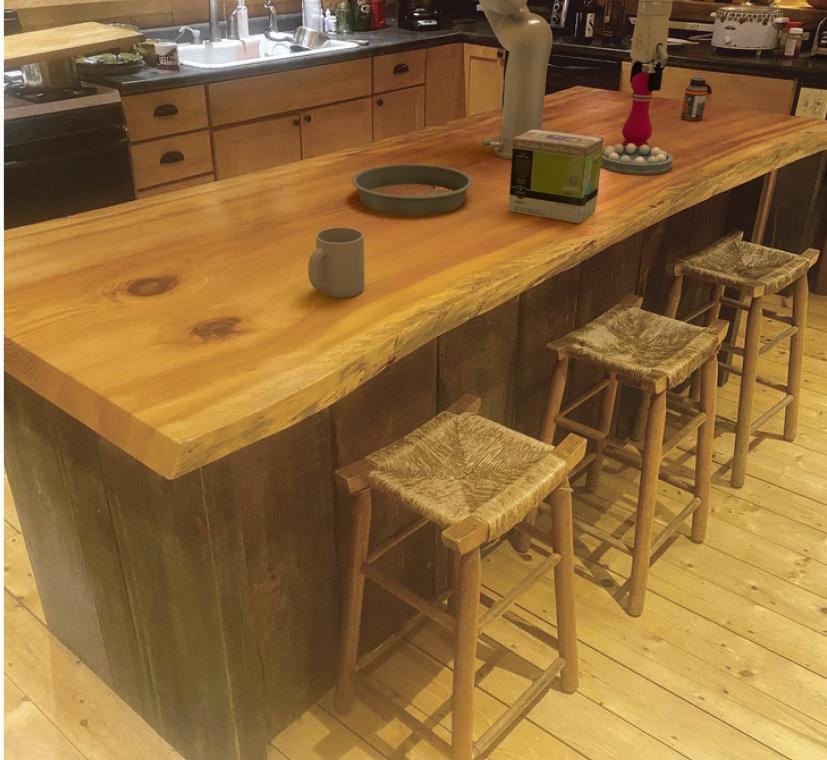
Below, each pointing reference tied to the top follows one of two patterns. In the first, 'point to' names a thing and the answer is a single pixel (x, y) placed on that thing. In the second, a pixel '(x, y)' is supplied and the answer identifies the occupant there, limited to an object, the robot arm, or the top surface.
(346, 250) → the cup
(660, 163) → the bead tray
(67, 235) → the top surface
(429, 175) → the cake pan
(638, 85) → the pepper mill
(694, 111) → the supplement bottle
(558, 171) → the tea box
